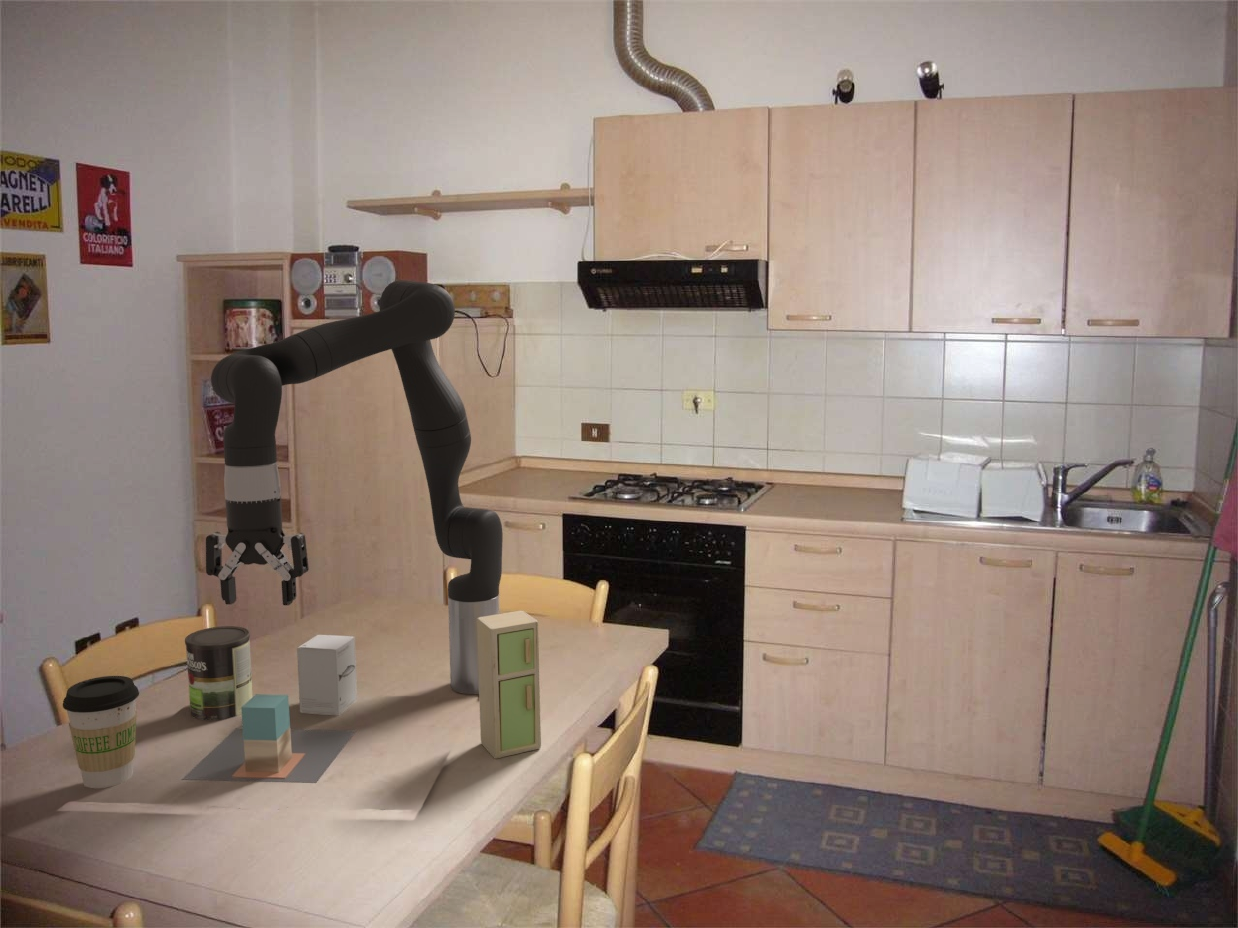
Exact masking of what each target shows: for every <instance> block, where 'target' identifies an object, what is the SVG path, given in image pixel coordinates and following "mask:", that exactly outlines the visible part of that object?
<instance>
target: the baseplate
mask: <svg viewBox="0 0 1238 928" xmlns="http://www.w3.org/2000/svg"><path fill="white" fill-rule="evenodd" d="M290 731H291V748H292V758H291V759H290V760H289V762H288V763H287V764H286V765H285V766H284V767H283V768H282V770H281V771H280V772H279V773H275V772H246V768H245V753H244V740H243V727H236V728H235V729H233V730H232V731H231V732H230V733H229V734H228V735H227V736H226V737H224V739H223V740H222V741H221V742H219V743H218V744H217V745H216V747H214V749H212V750H211V751H210V752H209V753H208V754H207V755H206V756H204V758H203V759H202V760H201V761H200V762H198V763H197V764H196V765H195V766H194V767H193V768H192V769H191V770H190V771H188V773H186V775H184V777H182V778H181V781H187V780H189V781H215V782H216V781H220V782H221V781H222V782H226V781H227V782H257V783H258V782H262V783H263V782H264V783H267V782H268V783H271V782H272V783H301V784H302V783H306V784H308V783H310V784H317V783H318V782H319V780H320V778H321V777H322V776H323V775H324V773H326V771H327V770H328V769H329V767H330V766H331V765H332V763H333V762H334V760H336V758H337V757H338V755H339V754H340V752H341V751H342V750H343V749H344V748H345V747H346V745H347V744H348V742H349V741H350V740H351V739H352V737H353V736H354V735H355V733H356V732H357V730H343V729H342V730H338V729H336V730H335V729H334V730H333V729H296V728H295V729H294V728H293V729H291V728H290Z"/></svg>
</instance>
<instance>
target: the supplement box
mask: <svg viewBox="0 0 1238 928" xmlns="http://www.w3.org/2000/svg"><path fill="white" fill-rule="evenodd" d="M355 642H356V640H355V636H352V635H351V636H349V635H333V634H332V635H329V634H316V635H315V636H313V637H312V638H310V639H308V640H307V641H306V642H304V643H303V644H300V646H298V647H296V653H297V654H296V657H297V658H296V659H297V672H298V673H297V674H298V675H297V676H298V695H299V696H298V697H299V698H298V699H299V713H300V714H311V715H323V716H340V715H341V714H343V712H345V711H346V710H348V708H349V707H350V706H352V705H353V704H354V703H355V702H357V700H358V690H357V689H358V688H357V687H358V686H357V683H358V682H357V663H356V660H357V659H356V643H355Z"/></svg>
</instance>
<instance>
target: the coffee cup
mask: <svg viewBox="0 0 1238 928" xmlns="http://www.w3.org/2000/svg"><path fill="white" fill-rule="evenodd" d="M139 694H140V692H139V688H138V686H136V685H135V683H134V681H133V679H132V678H131V677H129V676H126V675H125V676H124V675H105V676H99V677H93V678H89V679H85V680H82V681H79V682H77V683H75V684H73V685H71V686H70V687H69V688H67V690H66V695H65V697H64V698H63V699H62V700H63V701H62V708H63V710H65V711H66V713H67V717H68V720H69V722H68V727H69V730H70V735H71V739H72V743H73V744H72V745H73V748H74V753H75V756H76V760H77V766H78V768H79V770H80V774H81V777H82V782H83V786H84V787H87V788H89V789H104V788H106V789H107V788H110V787H111V788H112V787H115V786H118V785H121V784H122V783H125V782H127V781H128V780H130V779H131V778H132V777H133V772H134V758H135V752H136V734H137V733H136V732H137V717H138V716H137V714H138V713H137V710H136V708H137V707H136V706H137V704H136V703H137V698H138V697H139V696H140V695H139Z"/></svg>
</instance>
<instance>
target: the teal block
mask: <svg viewBox="0 0 1238 928" xmlns="http://www.w3.org/2000/svg"><path fill="white" fill-rule="evenodd" d="M241 710H242V714H241V720H242V721H241V724H242V728H243V740H276V741H277V740H278V739H279V738H280V736H281V735H282V734H283V733H284V732H285V731H286V730H287V729H288V728H289V727H290V728H291V720H290V719H291V718H290V701H289V694H266V693H265V694H262V693H261V694H259V693H257V694H254V695H253V697H252V698H251V699H250V700H249V701H248V702H247V703H246V704H244V705H243V706H242V707H241Z"/></svg>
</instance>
